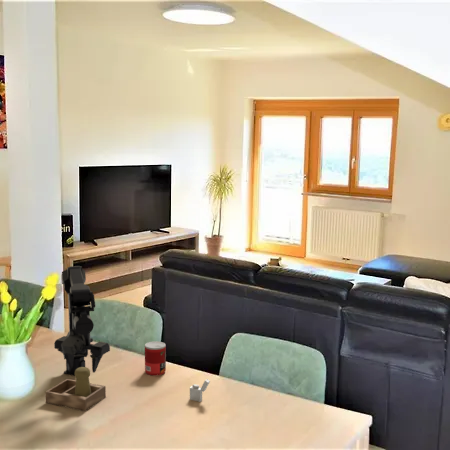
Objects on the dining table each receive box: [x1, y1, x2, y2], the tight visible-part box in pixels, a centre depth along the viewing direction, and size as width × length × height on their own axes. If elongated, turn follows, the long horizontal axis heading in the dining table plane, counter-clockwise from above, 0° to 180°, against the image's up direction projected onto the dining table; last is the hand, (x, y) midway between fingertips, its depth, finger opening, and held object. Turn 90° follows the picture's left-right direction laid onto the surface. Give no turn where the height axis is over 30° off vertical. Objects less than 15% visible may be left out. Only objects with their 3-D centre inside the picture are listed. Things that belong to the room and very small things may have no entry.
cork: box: [74, 366, 91, 397], centre depth 208 cm, size 6×6×11 cm
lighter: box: [189, 378, 211, 402], centre depth 210 cm, size 7×2×8 cm, turn 65°
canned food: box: [144, 340, 167, 377], centre depth 234 cm, size 8×8×11 cm
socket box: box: [44, 378, 107, 412], centre depth 210 cm, size 16×12×4 cm
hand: (82, 370), depth 207 cm, fingers open, 9 cm apart
